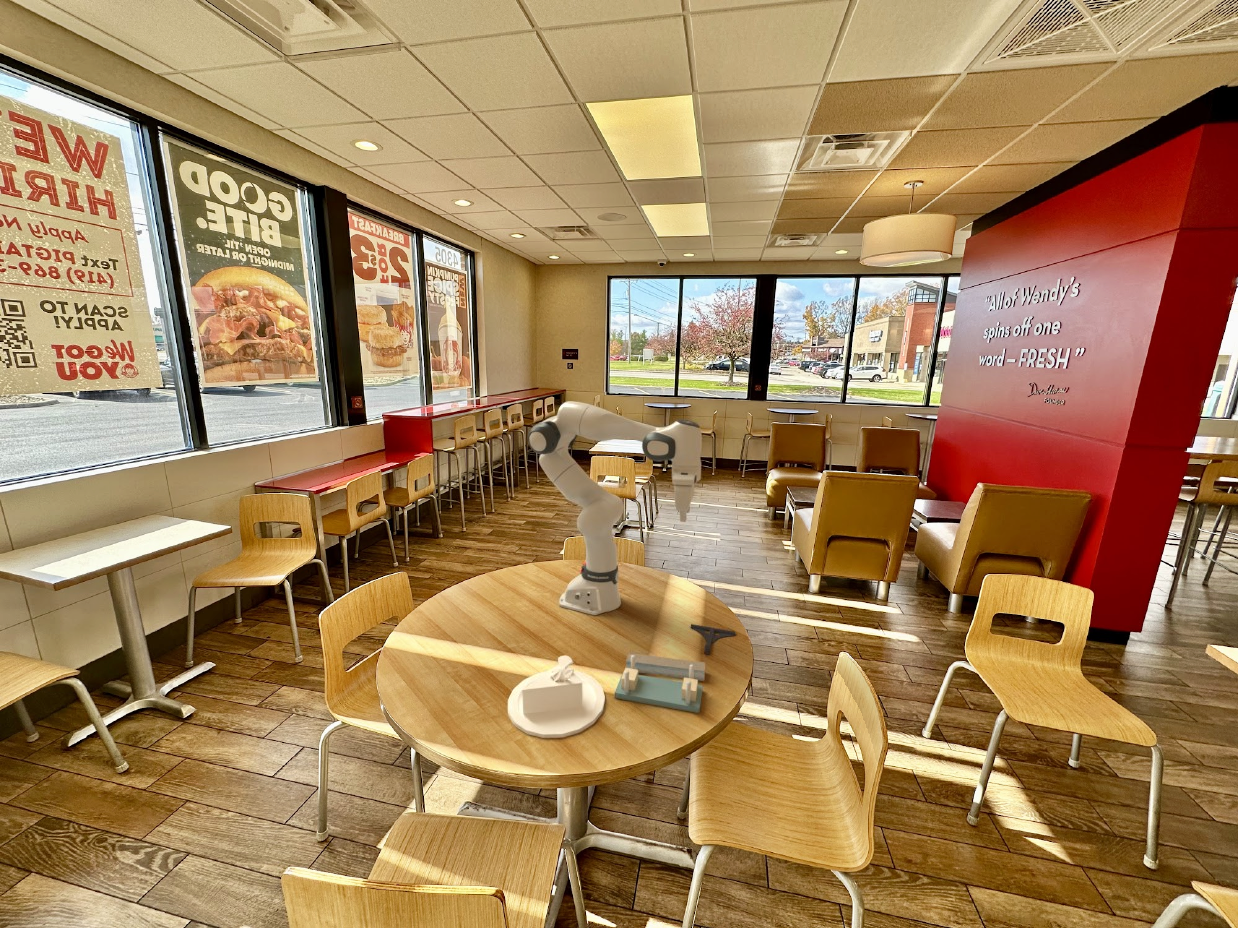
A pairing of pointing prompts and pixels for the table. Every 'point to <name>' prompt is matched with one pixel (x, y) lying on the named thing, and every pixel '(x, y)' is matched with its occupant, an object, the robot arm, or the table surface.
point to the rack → (660, 690)
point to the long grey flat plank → (666, 666)
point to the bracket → (711, 634)
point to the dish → (556, 702)
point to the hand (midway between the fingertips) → (684, 516)
